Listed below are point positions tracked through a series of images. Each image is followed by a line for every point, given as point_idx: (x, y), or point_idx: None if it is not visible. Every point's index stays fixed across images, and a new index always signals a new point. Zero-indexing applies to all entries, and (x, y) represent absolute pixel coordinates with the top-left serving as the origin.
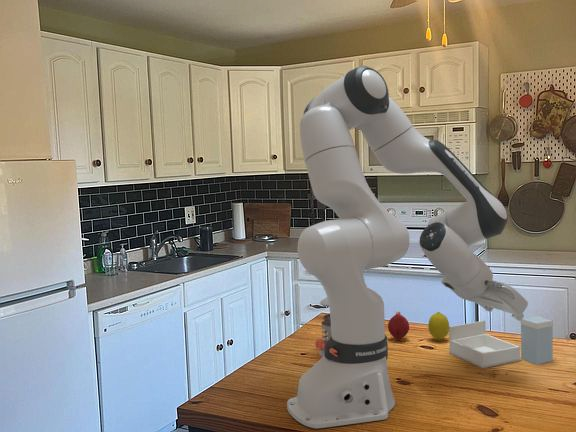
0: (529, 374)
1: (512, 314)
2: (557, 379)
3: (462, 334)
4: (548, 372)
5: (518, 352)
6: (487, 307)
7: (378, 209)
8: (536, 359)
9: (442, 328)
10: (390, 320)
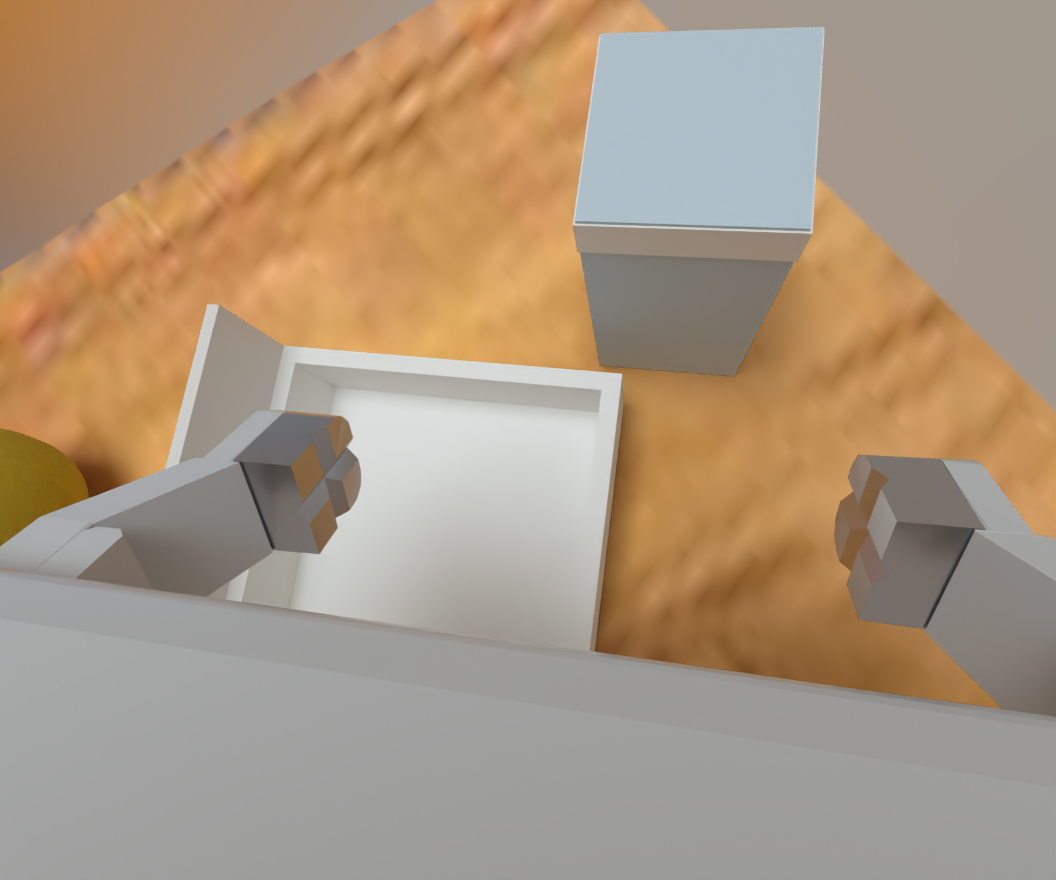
0: None
1: (866, 599)
2: (1011, 486)
3: None
4: (880, 428)
5: (621, 399)
6: (315, 540)
7: None
8: (736, 364)
9: None
10: None
